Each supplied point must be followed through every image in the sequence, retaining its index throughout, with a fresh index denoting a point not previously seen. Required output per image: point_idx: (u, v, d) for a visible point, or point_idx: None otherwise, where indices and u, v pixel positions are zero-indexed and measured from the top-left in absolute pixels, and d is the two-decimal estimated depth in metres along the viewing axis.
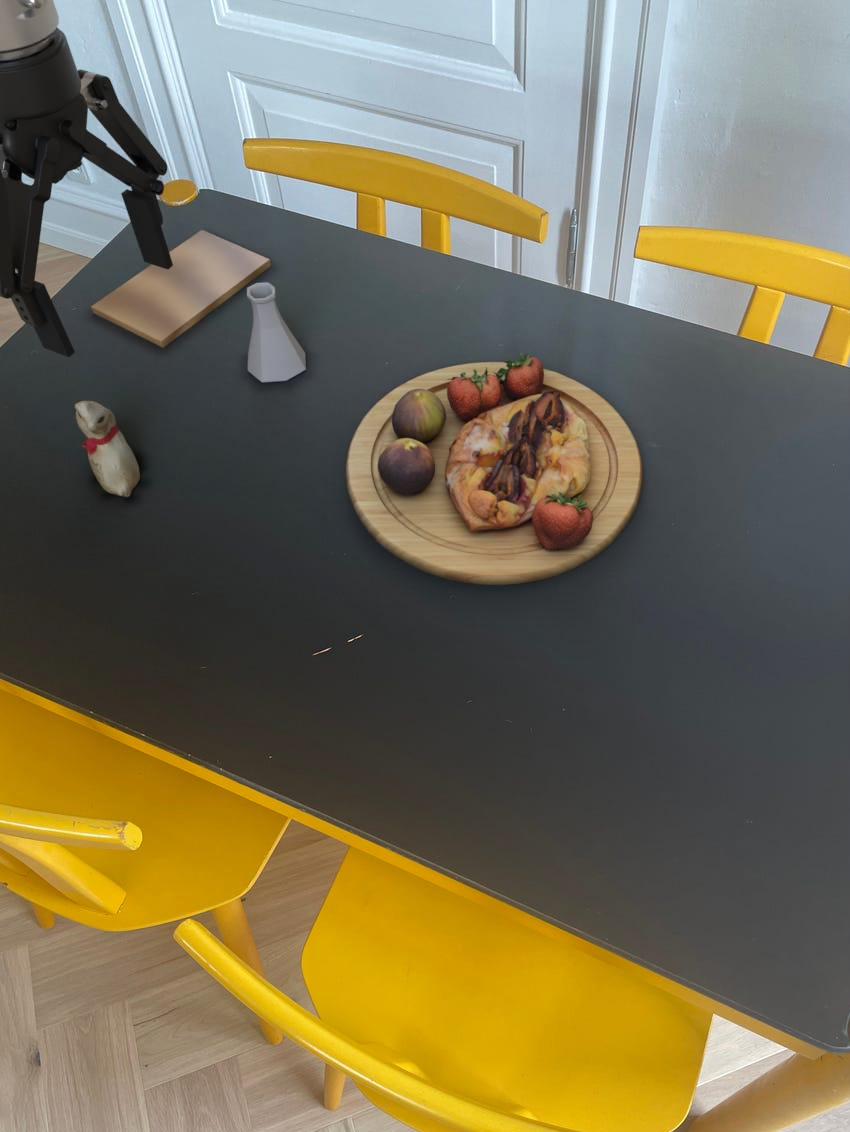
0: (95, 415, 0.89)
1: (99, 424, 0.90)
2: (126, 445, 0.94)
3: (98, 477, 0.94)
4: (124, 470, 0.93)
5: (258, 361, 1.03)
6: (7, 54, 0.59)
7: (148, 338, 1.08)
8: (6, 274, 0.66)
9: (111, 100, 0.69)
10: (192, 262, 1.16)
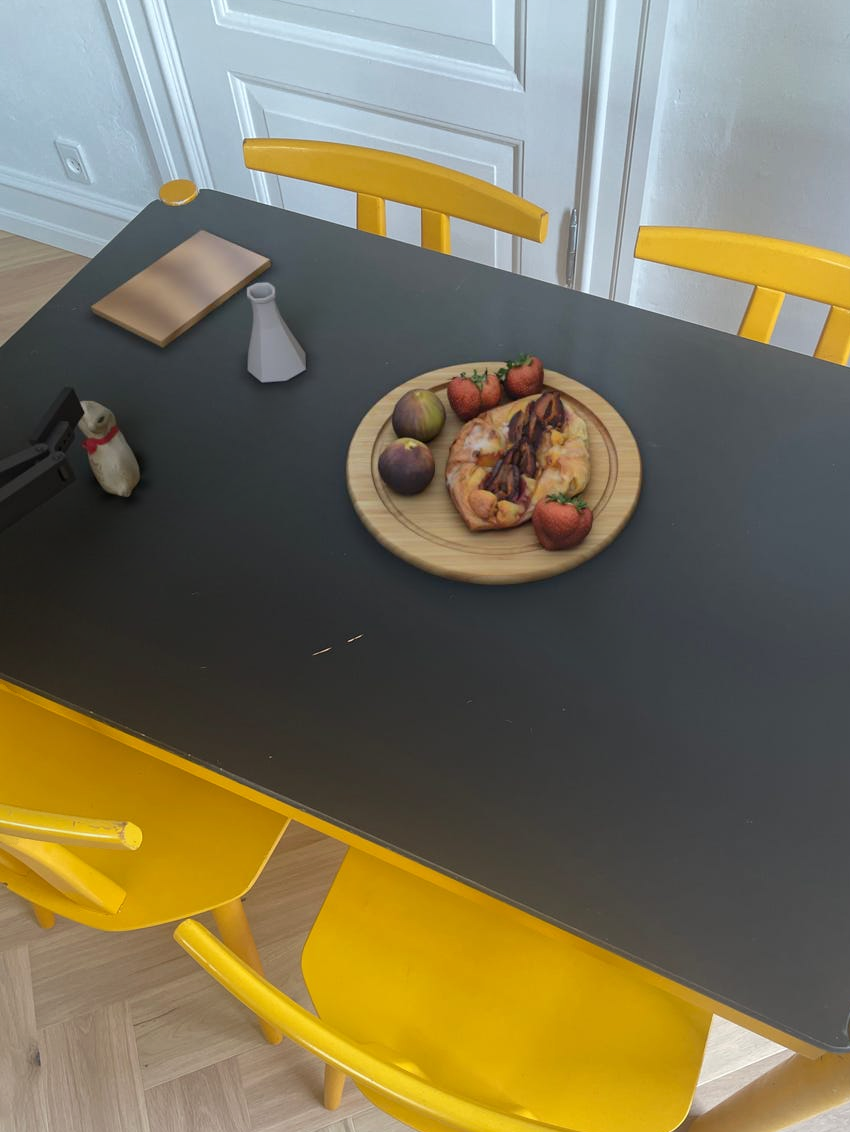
0: (95, 415, 0.89)
1: (99, 424, 0.90)
2: (126, 445, 0.94)
3: (98, 477, 0.94)
4: (124, 470, 0.93)
5: (258, 361, 1.03)
6: None
7: (148, 338, 1.08)
8: None
9: None
10: (192, 262, 1.16)
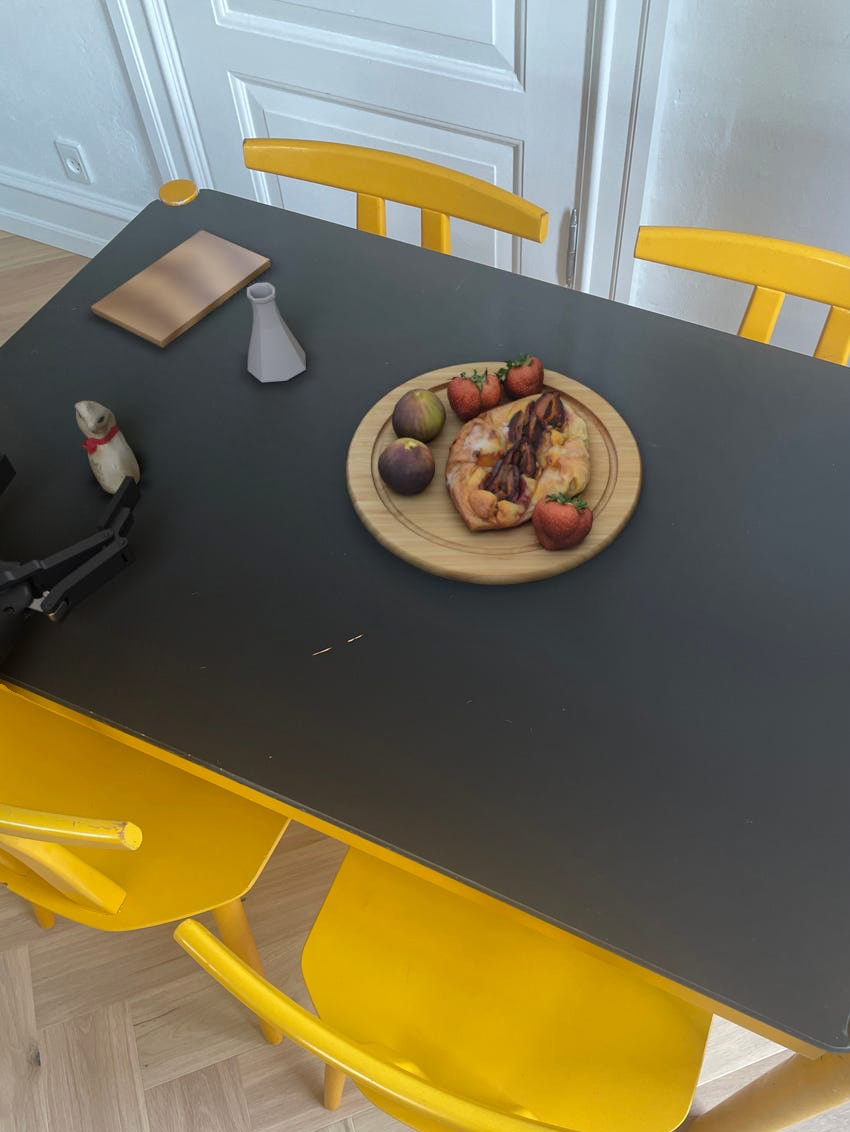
0: (95, 415, 0.89)
1: (99, 424, 0.90)
2: (126, 445, 0.94)
3: (98, 477, 0.94)
4: (124, 470, 0.93)
5: (258, 361, 1.03)
6: None
7: (148, 338, 1.08)
8: None
9: None
10: (192, 262, 1.16)
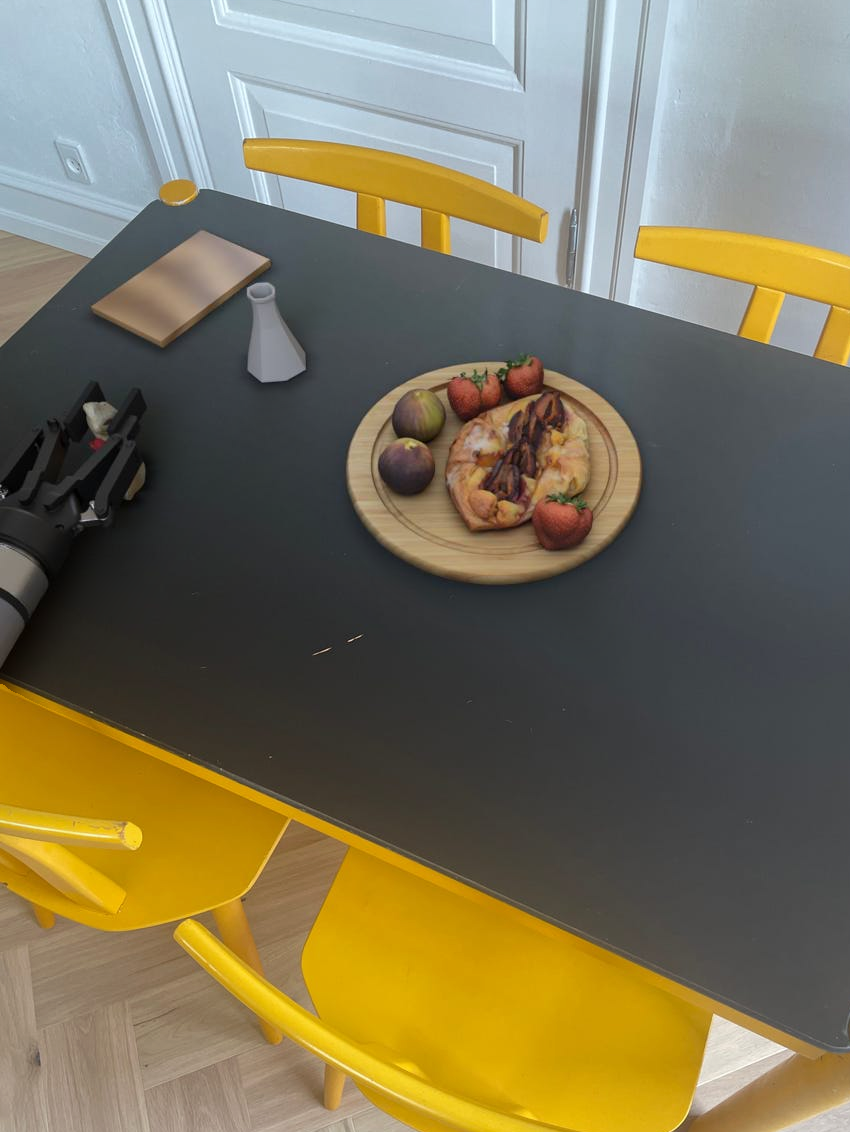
0: (102, 417, 0.89)
1: (104, 427, 0.89)
2: None
3: None
4: None
5: (258, 361, 1.03)
6: None
7: (148, 338, 1.08)
8: None
9: None
10: (192, 262, 1.16)
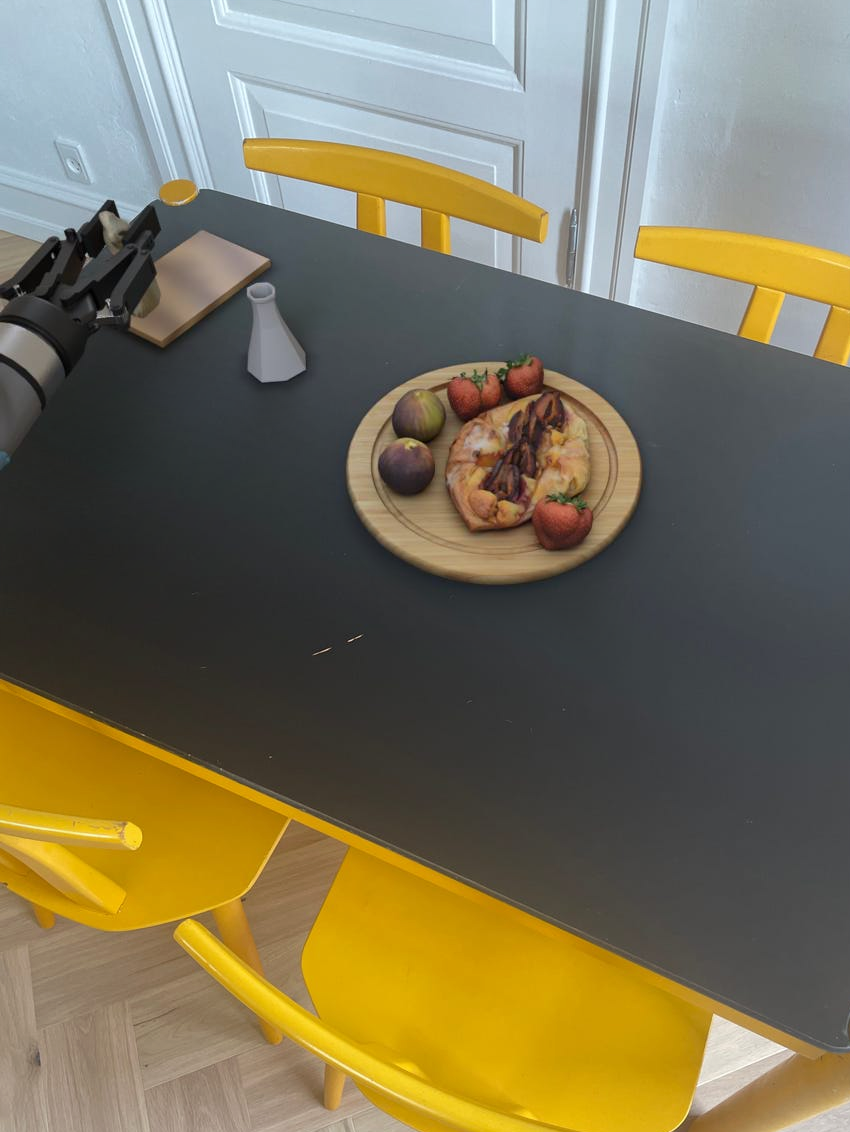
0: (117, 226, 0.91)
1: (119, 236, 0.91)
2: None
3: None
4: None
5: (258, 361, 1.03)
6: None
7: (148, 338, 1.08)
8: None
9: None
10: (192, 262, 1.16)
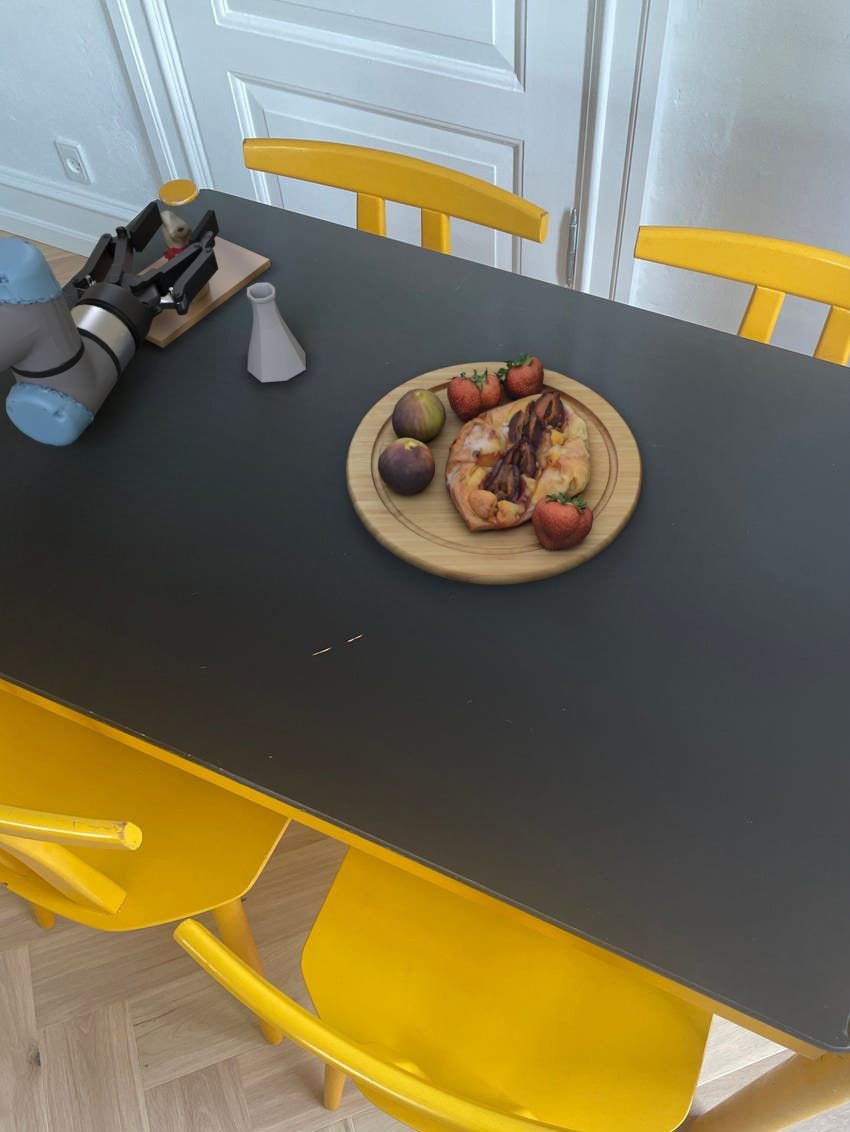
0: (176, 224, 1.06)
1: (178, 232, 1.06)
2: None
3: None
4: None
5: (258, 361, 1.03)
6: None
7: (148, 338, 1.08)
8: None
9: None
10: None
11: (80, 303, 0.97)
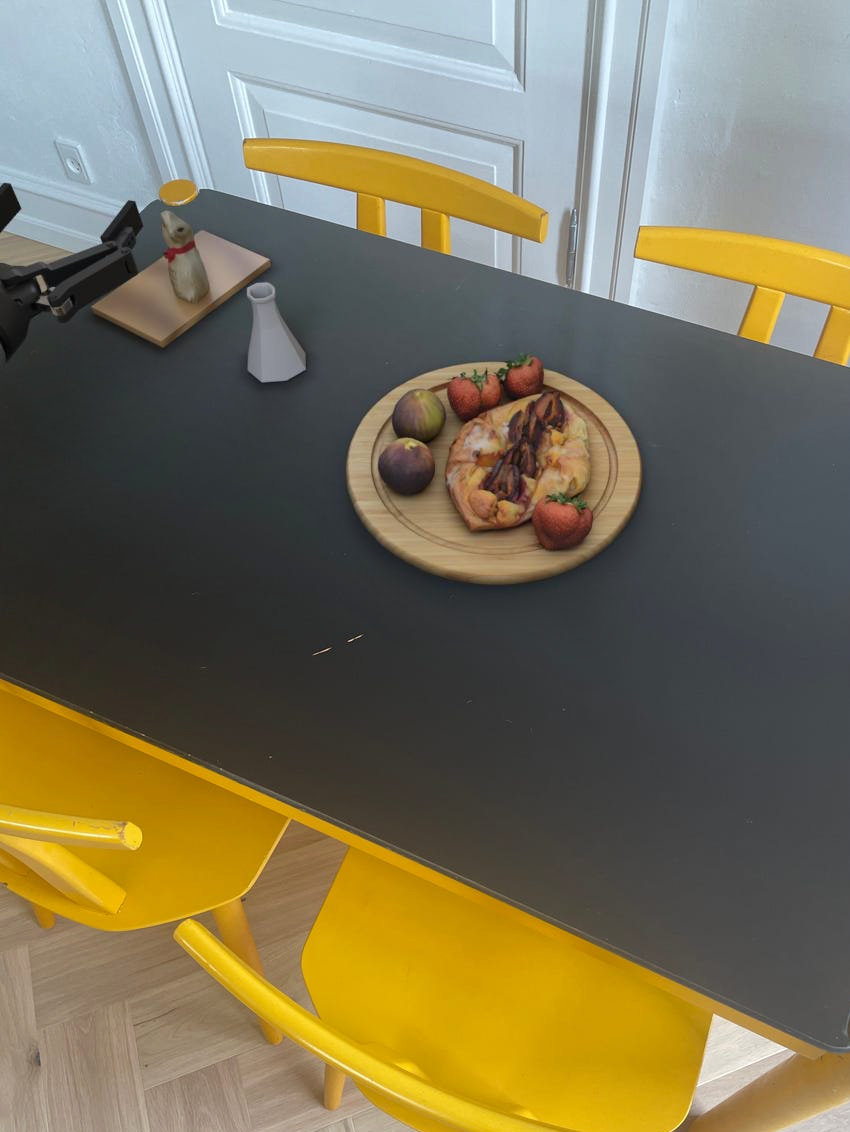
0: (176, 224, 1.06)
1: (178, 232, 1.06)
2: (200, 259, 1.11)
3: (173, 283, 1.10)
4: (195, 278, 1.10)
5: (258, 361, 1.03)
6: None
7: (148, 338, 1.08)
8: None
9: None
10: None
11: None
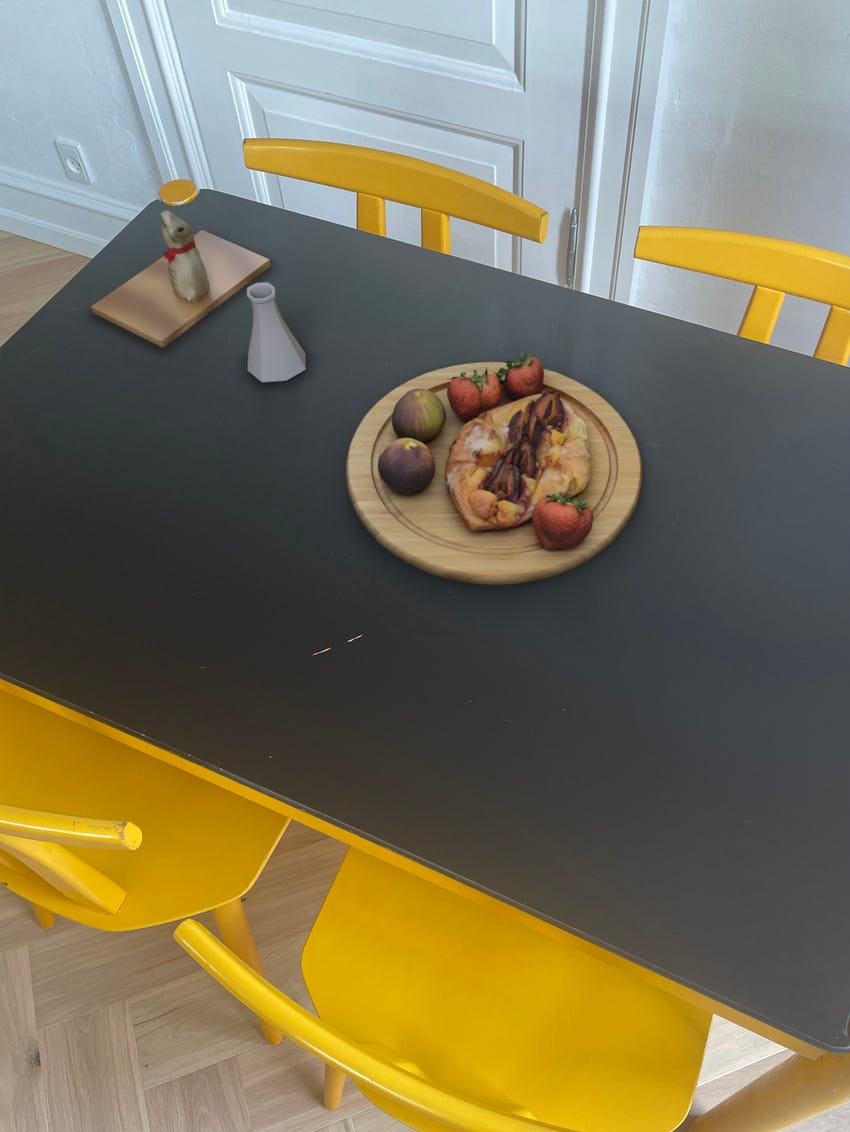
0: (176, 224, 1.06)
1: (178, 232, 1.06)
2: (200, 259, 1.11)
3: (173, 283, 1.10)
4: (195, 278, 1.10)
5: (258, 361, 1.03)
6: None
7: (148, 338, 1.08)
8: None
9: None
10: None
11: None
